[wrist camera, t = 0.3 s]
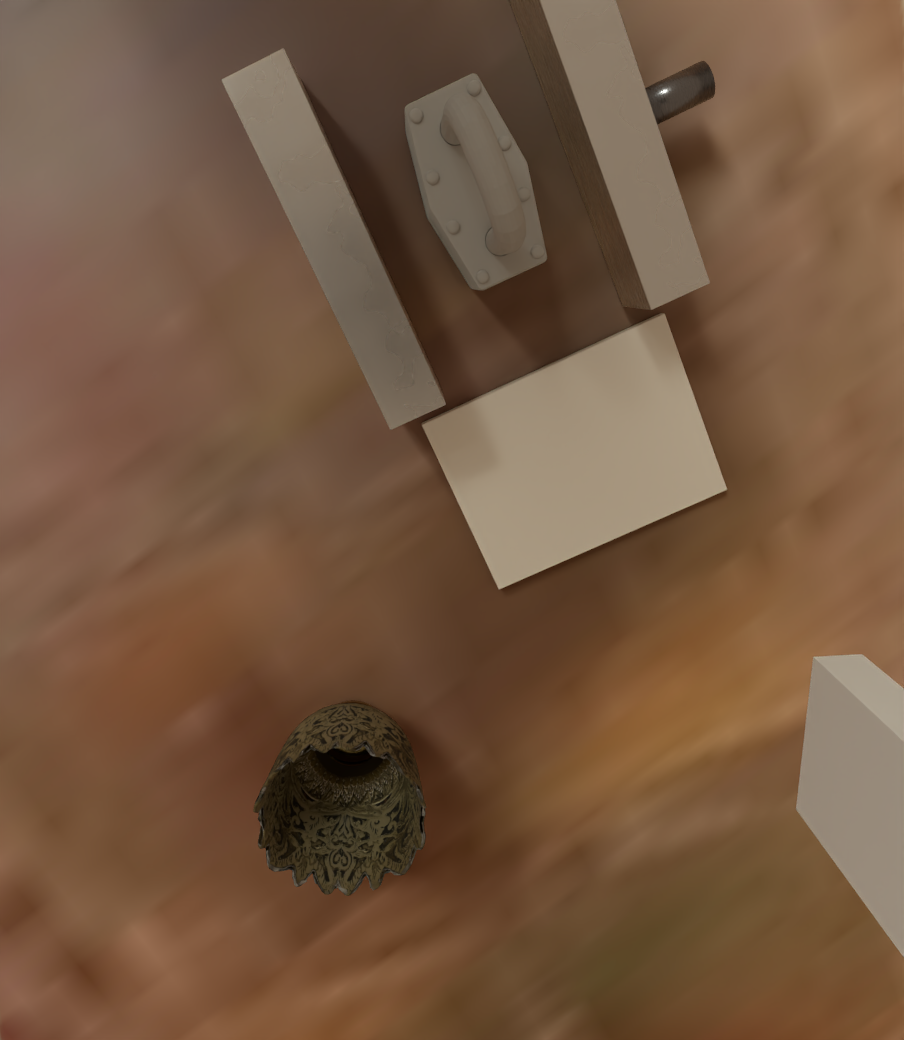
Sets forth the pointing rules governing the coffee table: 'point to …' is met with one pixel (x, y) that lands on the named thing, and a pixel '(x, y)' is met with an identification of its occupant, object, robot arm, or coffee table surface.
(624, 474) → the pad
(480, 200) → the padlock
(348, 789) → the cup
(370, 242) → the vise
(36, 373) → the coffee table surface
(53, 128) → the coffee table surface
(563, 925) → the coffee table surface
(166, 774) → the coffee table surface
